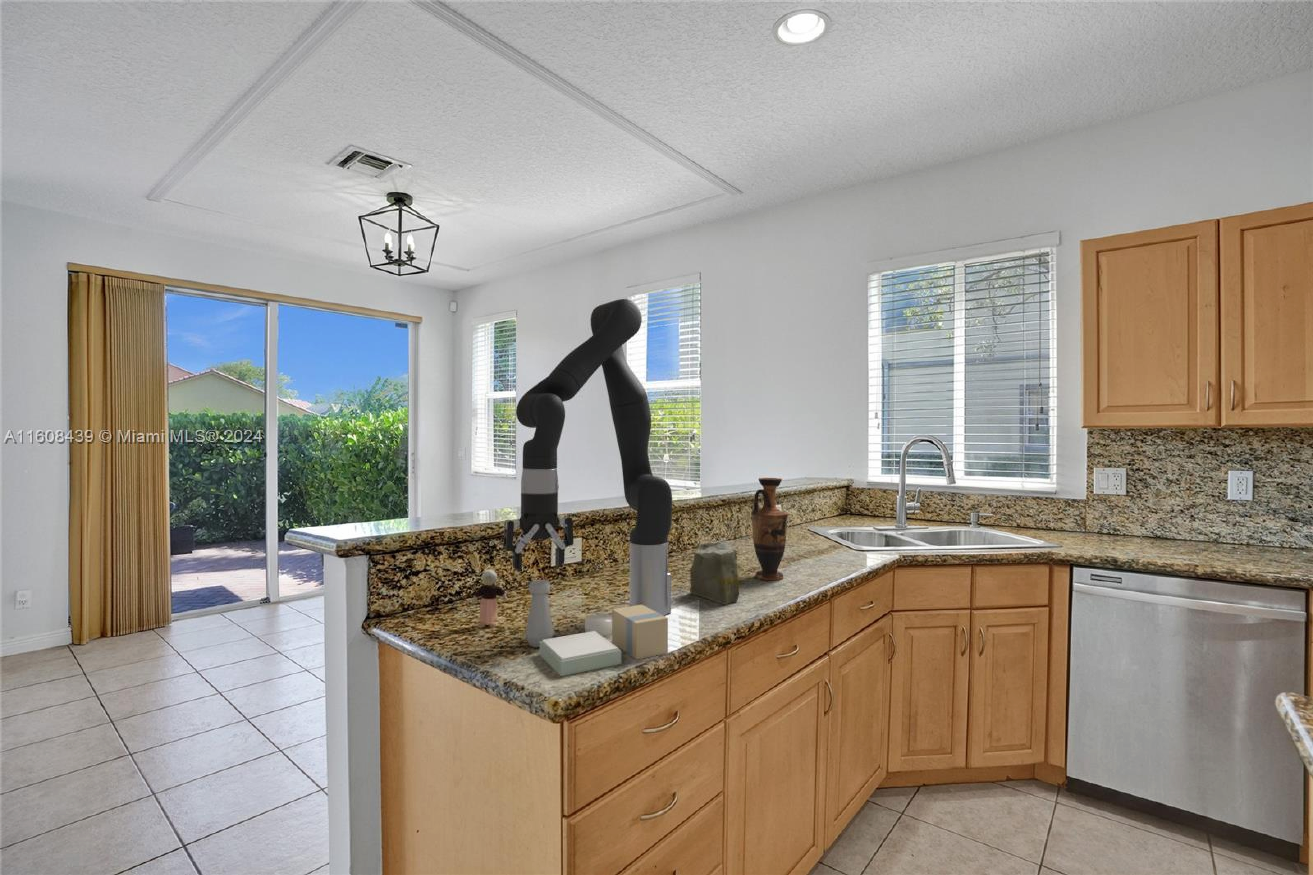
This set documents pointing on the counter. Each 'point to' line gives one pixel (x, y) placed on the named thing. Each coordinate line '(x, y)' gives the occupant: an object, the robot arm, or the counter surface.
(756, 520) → the vase
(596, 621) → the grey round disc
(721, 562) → the stone block
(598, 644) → the podium
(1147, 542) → the counter surface
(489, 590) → the grandmother figurine
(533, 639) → the salt shaker
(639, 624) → the kraft carton
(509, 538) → the robot arm
